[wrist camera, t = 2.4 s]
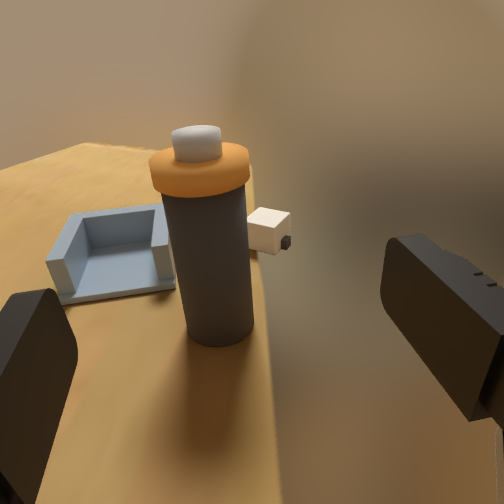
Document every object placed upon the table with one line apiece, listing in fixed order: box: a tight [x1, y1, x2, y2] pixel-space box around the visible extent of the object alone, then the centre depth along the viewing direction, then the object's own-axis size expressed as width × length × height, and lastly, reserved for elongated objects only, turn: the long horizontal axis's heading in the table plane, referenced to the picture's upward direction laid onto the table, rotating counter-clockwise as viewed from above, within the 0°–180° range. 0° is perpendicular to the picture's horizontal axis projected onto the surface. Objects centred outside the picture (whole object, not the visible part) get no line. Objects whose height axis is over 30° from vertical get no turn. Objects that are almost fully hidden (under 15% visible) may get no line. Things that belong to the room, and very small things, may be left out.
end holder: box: [45, 203, 176, 305], centre depth 30 cm, size 8×8×4 cm
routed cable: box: [247, 207, 291, 255], centre depth 34 cm, size 15×7×3 cm, turn 60°
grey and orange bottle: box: [149, 125, 254, 347], centre depth 21 cm, size 5×5×12 cm
